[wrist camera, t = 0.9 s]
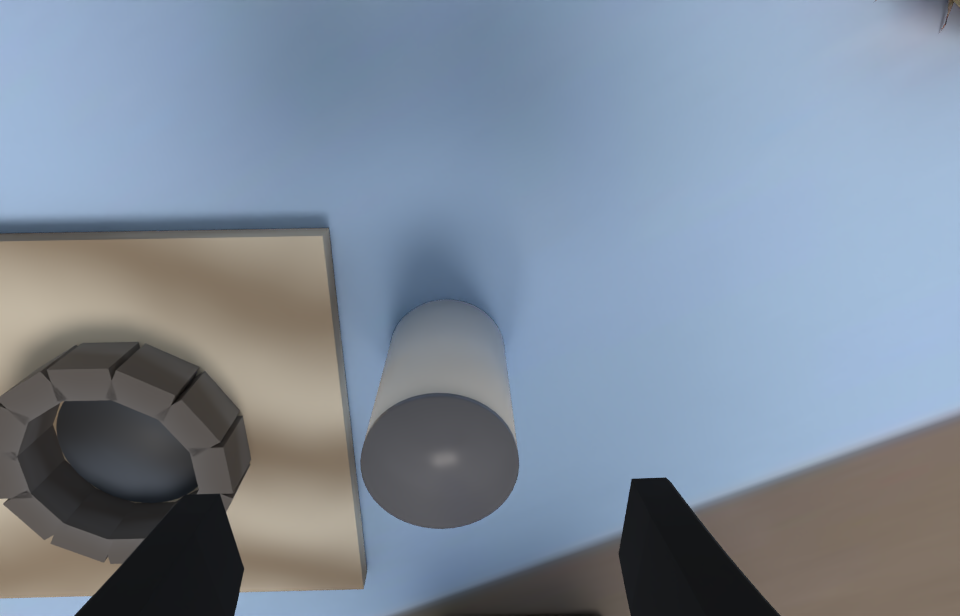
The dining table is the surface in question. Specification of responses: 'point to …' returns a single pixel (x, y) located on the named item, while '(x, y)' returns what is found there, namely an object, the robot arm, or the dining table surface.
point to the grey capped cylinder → (442, 420)
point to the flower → (958, 0)
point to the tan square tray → (173, 404)
